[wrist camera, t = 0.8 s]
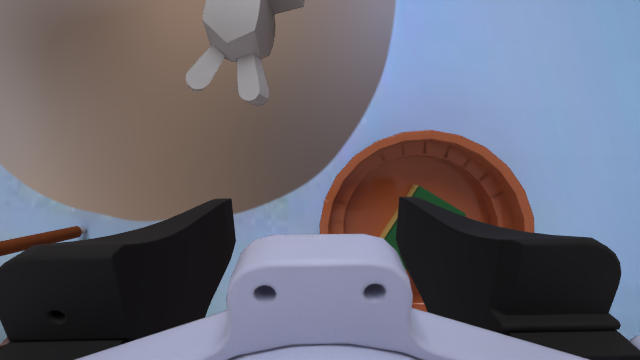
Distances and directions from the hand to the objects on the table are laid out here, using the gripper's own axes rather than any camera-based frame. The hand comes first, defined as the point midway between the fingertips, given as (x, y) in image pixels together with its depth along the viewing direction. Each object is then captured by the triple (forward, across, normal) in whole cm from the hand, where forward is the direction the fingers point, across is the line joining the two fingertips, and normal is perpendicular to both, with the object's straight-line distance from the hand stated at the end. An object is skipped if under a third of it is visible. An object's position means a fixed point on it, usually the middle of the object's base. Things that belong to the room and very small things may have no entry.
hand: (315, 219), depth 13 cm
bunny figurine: (+22, +6, -10) cm, 25 cm away
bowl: (+14, -9, +8) cm, 18 cm away
